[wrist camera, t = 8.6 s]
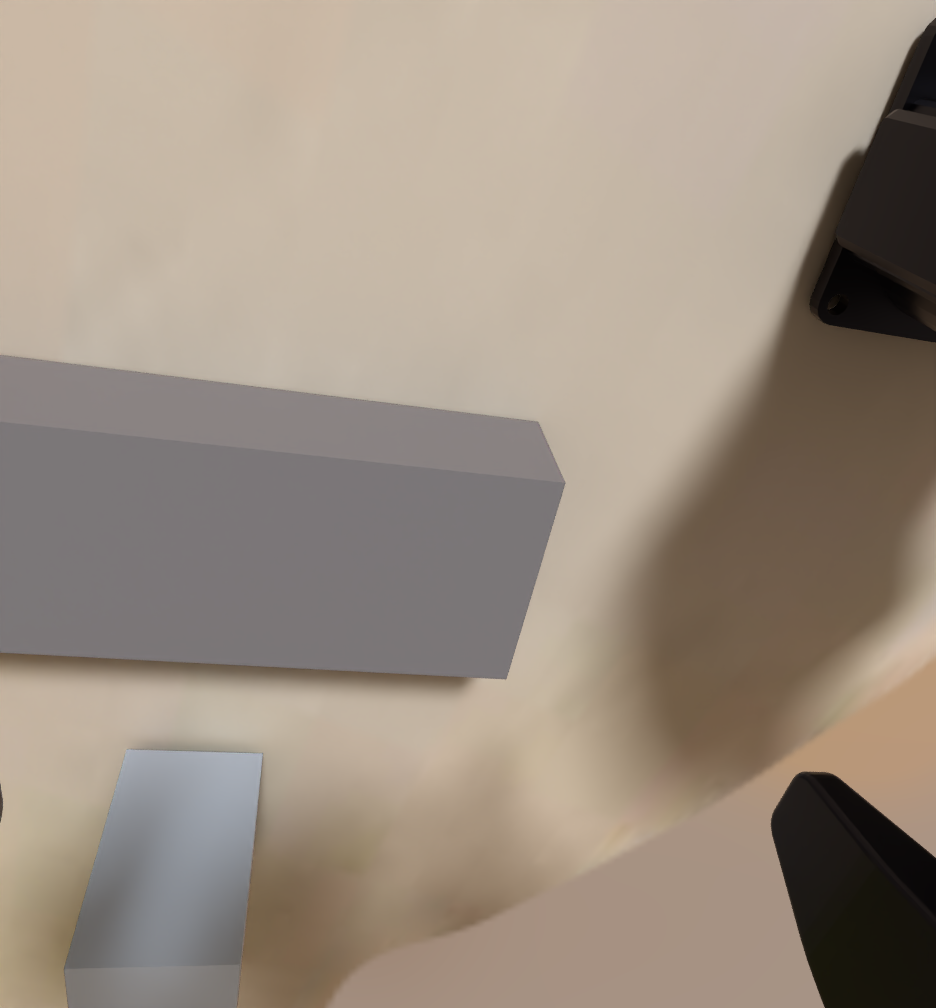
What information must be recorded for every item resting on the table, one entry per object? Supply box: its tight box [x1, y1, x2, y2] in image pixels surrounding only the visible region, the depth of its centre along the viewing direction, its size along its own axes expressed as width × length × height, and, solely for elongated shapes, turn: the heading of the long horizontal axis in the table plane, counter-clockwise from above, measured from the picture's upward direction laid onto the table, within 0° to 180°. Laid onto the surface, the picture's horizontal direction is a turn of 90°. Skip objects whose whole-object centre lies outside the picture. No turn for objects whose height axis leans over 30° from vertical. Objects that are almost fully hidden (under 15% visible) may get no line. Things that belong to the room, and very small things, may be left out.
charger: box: [64, 749, 263, 1008], centre depth 23 cm, size 4×5×6 cm
